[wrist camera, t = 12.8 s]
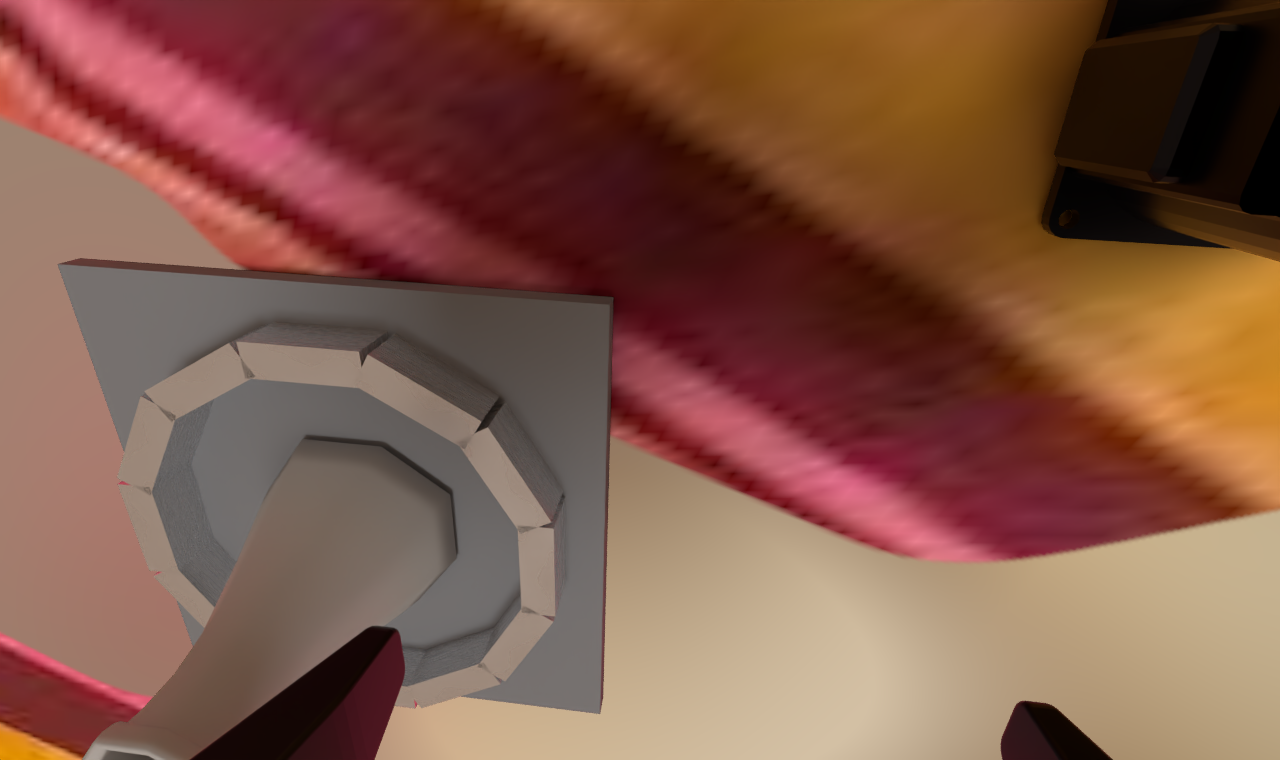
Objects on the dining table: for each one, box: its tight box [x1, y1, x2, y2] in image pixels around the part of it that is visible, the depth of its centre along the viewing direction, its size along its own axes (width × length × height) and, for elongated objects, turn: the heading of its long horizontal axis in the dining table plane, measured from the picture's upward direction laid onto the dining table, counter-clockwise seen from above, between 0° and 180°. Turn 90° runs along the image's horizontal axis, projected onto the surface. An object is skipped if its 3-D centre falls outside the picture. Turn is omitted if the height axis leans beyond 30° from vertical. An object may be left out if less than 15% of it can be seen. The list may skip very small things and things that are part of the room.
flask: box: [82, 439, 457, 760], centre depth 19 cm, size 7×7×10 cm
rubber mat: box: [58, 258, 614, 714], centre depth 23 cm, size 18×18×1 cm
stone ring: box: [117, 322, 566, 708], centre depth 22 cm, size 15×15×2 cm
